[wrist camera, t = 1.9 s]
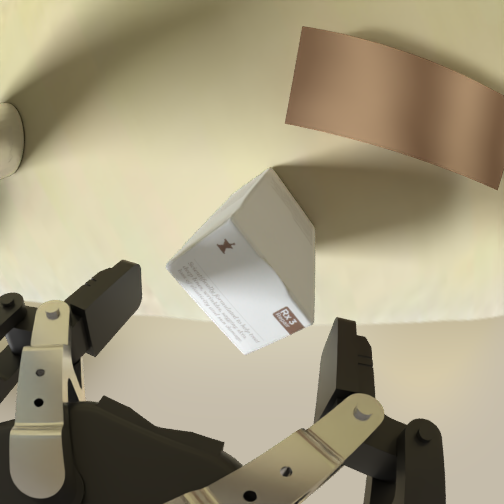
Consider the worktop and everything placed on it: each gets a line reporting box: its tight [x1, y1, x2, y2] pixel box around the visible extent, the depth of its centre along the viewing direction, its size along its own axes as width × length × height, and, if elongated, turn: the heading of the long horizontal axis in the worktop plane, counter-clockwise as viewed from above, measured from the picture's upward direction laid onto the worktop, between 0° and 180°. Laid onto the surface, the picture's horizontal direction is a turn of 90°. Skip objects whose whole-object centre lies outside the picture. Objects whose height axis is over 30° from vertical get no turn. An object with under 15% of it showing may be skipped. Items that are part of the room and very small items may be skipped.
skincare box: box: [166, 167, 315, 355], centre depth 19 cm, size 6×4×12 cm
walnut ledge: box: [285, 26, 504, 190], centre depth 17 cm, size 14×6×5 cm, turn 80°
